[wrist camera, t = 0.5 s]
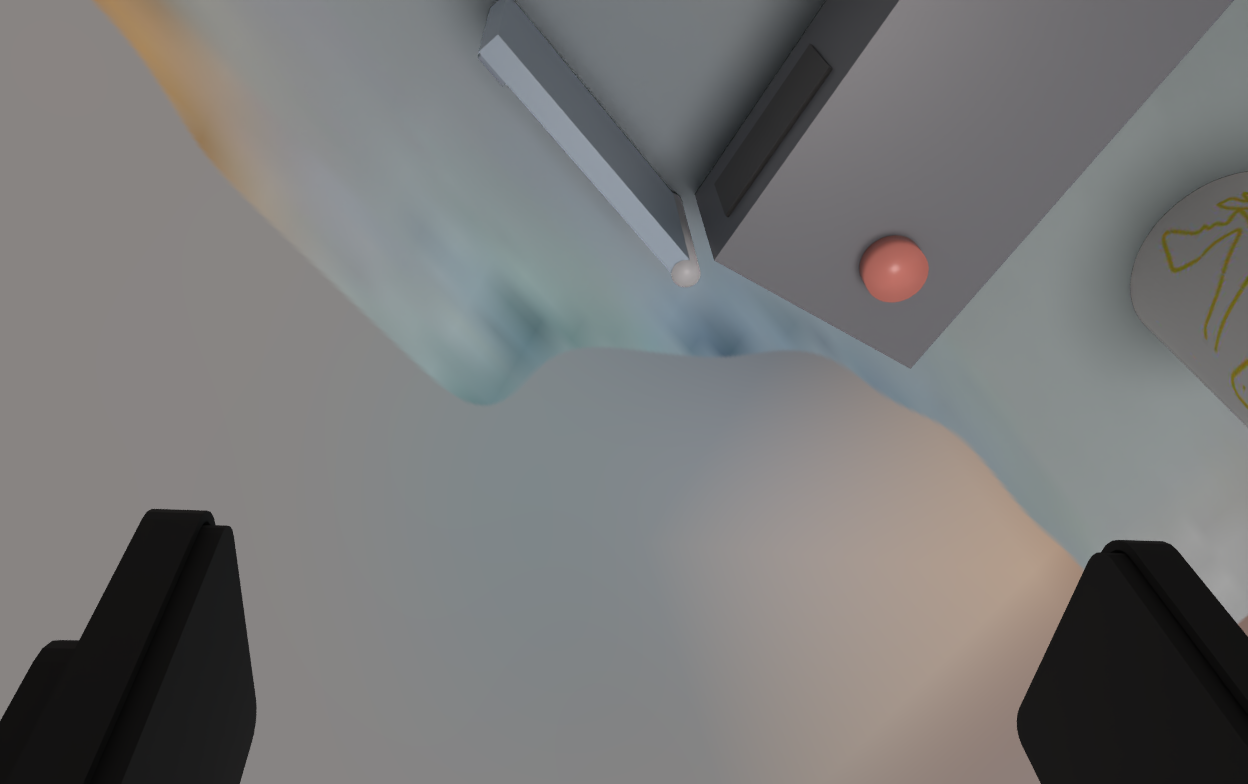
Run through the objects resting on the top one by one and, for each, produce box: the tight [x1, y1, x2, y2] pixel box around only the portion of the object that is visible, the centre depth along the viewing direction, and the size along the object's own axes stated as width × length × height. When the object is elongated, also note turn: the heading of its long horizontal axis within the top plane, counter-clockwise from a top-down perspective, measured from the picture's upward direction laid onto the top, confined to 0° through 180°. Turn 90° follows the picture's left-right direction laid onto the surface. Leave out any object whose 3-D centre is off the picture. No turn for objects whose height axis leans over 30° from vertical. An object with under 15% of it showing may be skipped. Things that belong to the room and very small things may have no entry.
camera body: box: [695, 0, 1234, 369], centre depth 34 cm, size 16×11×7 cm, turn 148°
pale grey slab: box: [478, 0, 701, 287], centre depth 35 cm, size 10×2×6 cm, turn 38°
